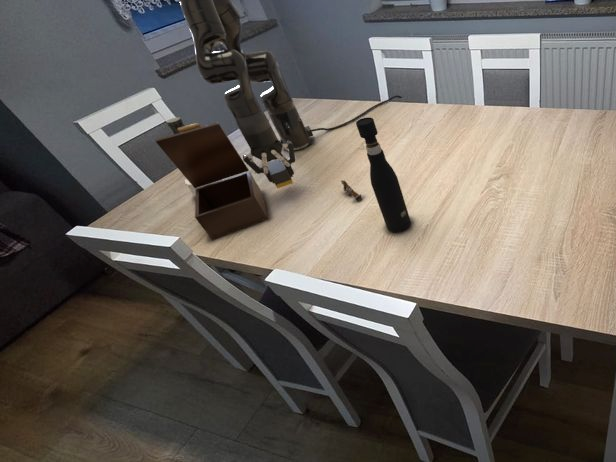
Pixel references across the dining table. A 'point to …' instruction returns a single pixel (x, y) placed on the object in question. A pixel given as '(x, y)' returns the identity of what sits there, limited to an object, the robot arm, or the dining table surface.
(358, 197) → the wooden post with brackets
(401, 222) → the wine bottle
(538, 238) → the dining table surface
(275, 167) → the duster
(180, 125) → the sauce bottle
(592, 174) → the dining table surface
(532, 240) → the dining table surface
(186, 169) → the case lid
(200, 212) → the case
